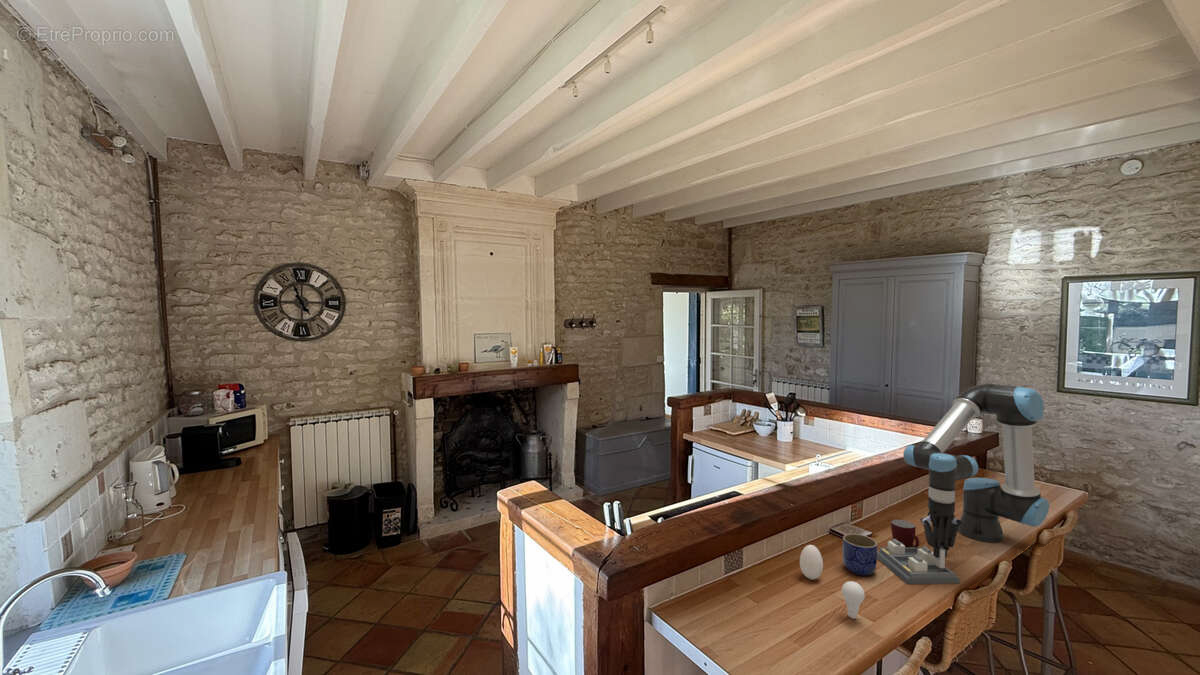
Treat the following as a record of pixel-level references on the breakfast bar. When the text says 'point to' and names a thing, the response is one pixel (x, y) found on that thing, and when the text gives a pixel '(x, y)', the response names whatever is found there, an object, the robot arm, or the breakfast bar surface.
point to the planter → (859, 554)
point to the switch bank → (900, 568)
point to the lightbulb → (853, 597)
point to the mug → (904, 532)
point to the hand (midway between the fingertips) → (939, 566)
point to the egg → (811, 562)
